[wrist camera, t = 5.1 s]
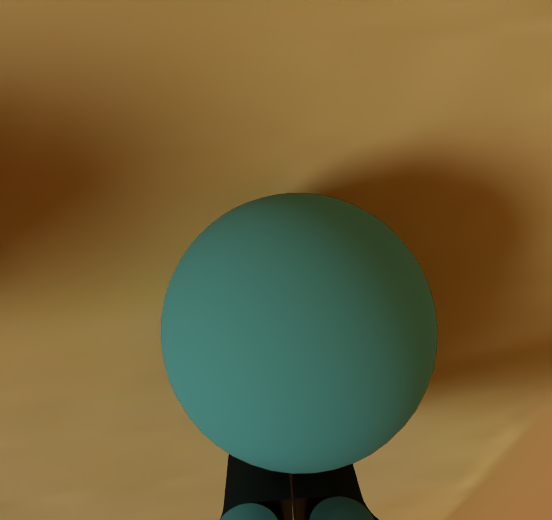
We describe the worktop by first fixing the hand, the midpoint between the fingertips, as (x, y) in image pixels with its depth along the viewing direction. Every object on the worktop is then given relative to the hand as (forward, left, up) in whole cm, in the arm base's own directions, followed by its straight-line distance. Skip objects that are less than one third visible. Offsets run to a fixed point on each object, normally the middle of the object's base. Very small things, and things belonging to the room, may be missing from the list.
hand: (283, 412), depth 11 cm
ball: (-4, 0, +2) cm, 4 cm away
